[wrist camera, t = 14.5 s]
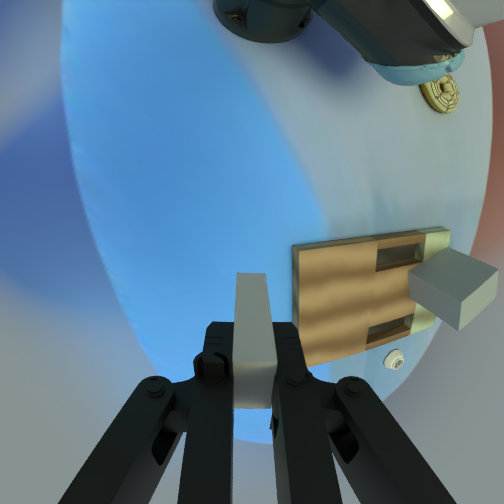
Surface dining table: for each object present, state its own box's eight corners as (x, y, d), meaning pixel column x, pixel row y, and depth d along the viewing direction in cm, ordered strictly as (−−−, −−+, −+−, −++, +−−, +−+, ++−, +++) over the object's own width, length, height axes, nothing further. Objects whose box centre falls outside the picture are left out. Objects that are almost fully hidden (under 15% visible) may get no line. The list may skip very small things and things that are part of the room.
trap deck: (291, 245, 44) (299, 251, 41) (440, 227, 50) (450, 230, 47) (292, 360, 50) (297, 369, 47) (425, 319, 57) (433, 325, 54)
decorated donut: (428, 56, 39) (440, 53, 35) (454, 97, 43) (466, 96, 39) (408, 79, 40) (421, 75, 36) (437, 123, 43) (450, 122, 40)
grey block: (407, 271, 47) (461, 302, 34) (447, 247, 48) (498, 269, 35) (409, 297, 49) (458, 331, 36) (447, 272, 50) (495, 297, 37)
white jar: (379, 363, 57) (390, 367, 59) (386, 371, 54) (397, 374, 56) (392, 346, 56) (403, 351, 58) (400, 353, 54) (410, 357, 55)
